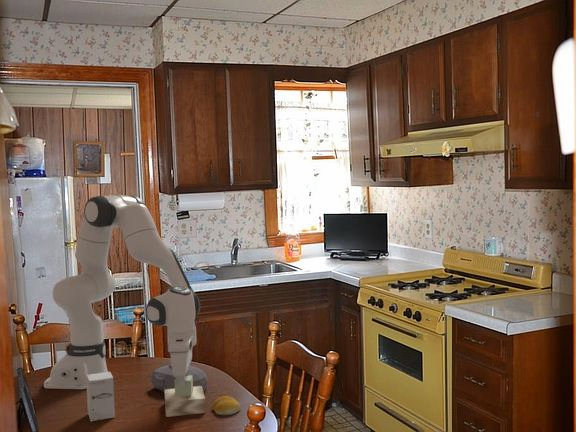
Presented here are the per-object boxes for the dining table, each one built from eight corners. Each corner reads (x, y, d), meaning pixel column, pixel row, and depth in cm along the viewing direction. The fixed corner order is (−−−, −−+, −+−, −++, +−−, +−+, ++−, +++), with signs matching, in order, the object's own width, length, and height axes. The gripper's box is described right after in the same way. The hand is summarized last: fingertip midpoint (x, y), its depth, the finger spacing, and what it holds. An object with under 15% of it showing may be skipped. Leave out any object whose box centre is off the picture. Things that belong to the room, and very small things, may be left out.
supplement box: (90, 422, 190) (88, 381, 189) (87, 414, 196) (85, 374, 196) (115, 418, 193) (113, 377, 192) (112, 410, 199) (110, 370, 199)
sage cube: (175, 396, 197) (174, 381, 196) (177, 391, 202) (176, 375, 201) (191, 396, 197) (190, 380, 196) (193, 390, 202) (192, 375, 201)
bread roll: (217, 418, 191) (217, 405, 191) (210, 408, 199) (209, 395, 199) (244, 413, 194) (243, 400, 194) (235, 404, 202) (235, 391, 202)
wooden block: (166, 418, 192) (165, 402, 192) (165, 404, 204) (164, 389, 204) (205, 414, 195) (205, 398, 195) (202, 400, 207) (201, 385, 206)
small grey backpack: (145, 390, 218) (185, 402, 205) (144, 366, 217) (184, 376, 205) (179, 378, 229) (218, 388, 217) (178, 355, 229) (217, 365, 216)
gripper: (176, 331, 208) (177, 372, 209) (167, 348, 188) (168, 393, 189) (195, 330, 209) (197, 371, 209) (188, 347, 188) (190, 393, 189)
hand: (183, 382), depth 199 cm, fingers open, 6 cm apart
